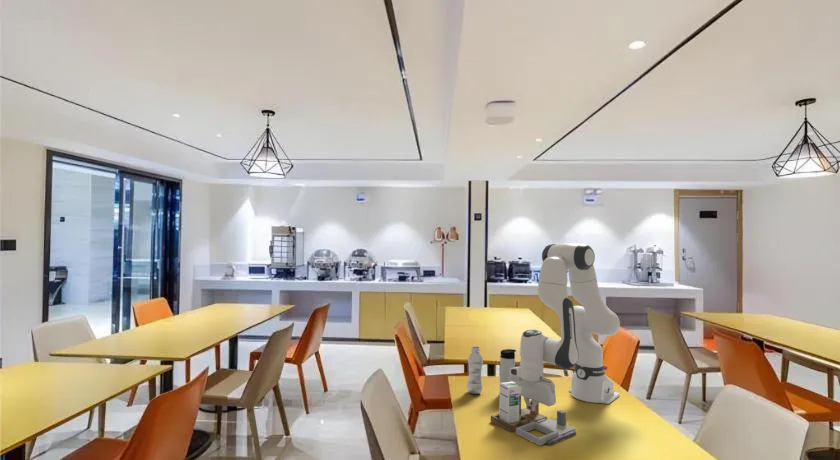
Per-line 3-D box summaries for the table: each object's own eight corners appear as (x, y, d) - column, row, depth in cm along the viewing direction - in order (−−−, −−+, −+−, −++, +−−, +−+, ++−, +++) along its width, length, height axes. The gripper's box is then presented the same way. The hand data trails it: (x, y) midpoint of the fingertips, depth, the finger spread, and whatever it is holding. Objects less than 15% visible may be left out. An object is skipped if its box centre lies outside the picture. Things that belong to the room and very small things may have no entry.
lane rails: (519, 410, 163) (519, 407, 163) (575, 434, 143) (575, 431, 143) (492, 418, 154) (492, 416, 154) (549, 445, 134) (549, 442, 134)
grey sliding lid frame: (551, 420, 153) (551, 406, 154) (575, 431, 145) (575, 415, 145) (515, 433, 142) (516, 418, 142) (539, 445, 134) (540, 429, 134)
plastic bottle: (466, 390, 184) (468, 345, 185) (482, 391, 184) (483, 346, 184) (466, 395, 178) (467, 348, 179) (482, 396, 177) (483, 349, 178)
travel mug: (515, 399, 175) (516, 351, 176) (499, 397, 176) (500, 350, 177) (514, 394, 181) (515, 348, 182) (499, 392, 182) (500, 347, 183)
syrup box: (508, 428, 146) (508, 387, 147) (498, 421, 152) (499, 382, 152) (521, 426, 149) (522, 385, 149) (511, 419, 154) (512, 380, 155)
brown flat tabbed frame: (525, 410, 163) (525, 396, 163) (546, 418, 155) (547, 404, 155) (490, 421, 151) (490, 406, 152) (511, 431, 143) (511, 416, 144)
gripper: (559, 379, 151) (559, 417, 151) (516, 365, 168) (515, 399, 167) (549, 382, 148) (548, 421, 147) (505, 368, 164) (505, 403, 163)
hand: (530, 410), depth 157 cm, fingers closed
